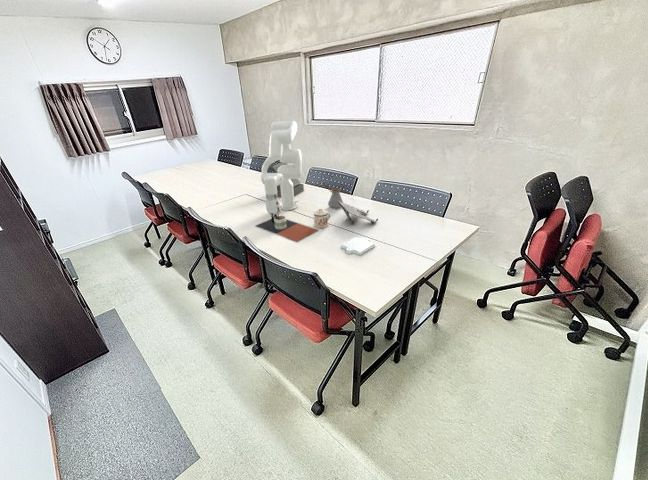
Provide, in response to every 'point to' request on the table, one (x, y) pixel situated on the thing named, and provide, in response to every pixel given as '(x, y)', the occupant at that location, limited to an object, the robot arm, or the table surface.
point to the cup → (280, 222)
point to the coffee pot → (334, 198)
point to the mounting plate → (357, 245)
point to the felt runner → (289, 230)
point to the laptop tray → (354, 212)
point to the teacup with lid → (320, 218)
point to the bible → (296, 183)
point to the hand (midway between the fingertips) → (274, 222)
